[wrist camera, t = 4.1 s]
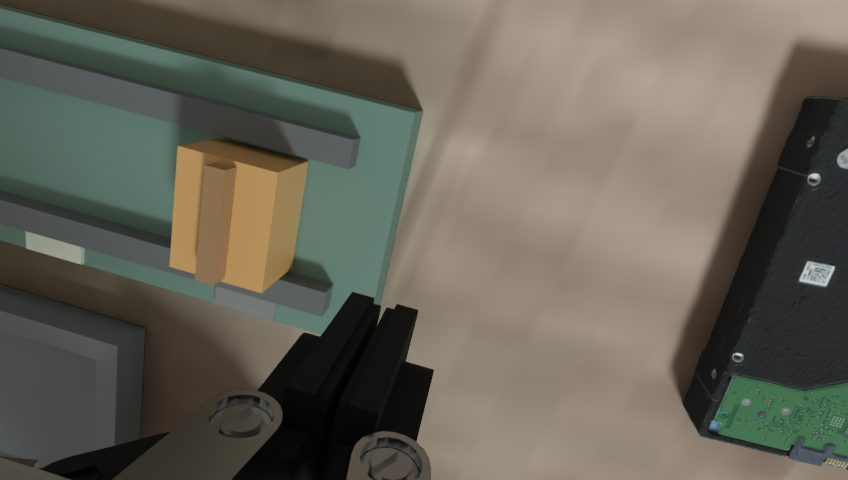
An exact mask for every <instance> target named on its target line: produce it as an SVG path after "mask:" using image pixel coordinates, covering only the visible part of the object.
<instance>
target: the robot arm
mask: <svg viewBox="0 0 848 480" xmlns="http://www.w3.org/2000/svg"><path fill="white" fill-rule="evenodd" d="M380 309H381V306H380V305H377V304H374V298H373V297H370V296H366V295H363V294H359V293H356V292H352V293H351V294H350V296H349V297H348V298H347V300H346V301H345V303H344V304H343V305H342V307H341V308H340V310H339V311H338V313H337V314H336V315H335V317H334V318H333V320H332V321H331V322H330V324H329V325H328V327H327V328H326V329H325V331H324V332H323V334H322V335H321V337H319V336H315V335H312V334H308V333H303V334H302V335H301V336H300V337H299V339H298V340H297V341H296V342H295V344H294V345H293V346H292V347H291V349H290V350H289V351H288V353H287V354H286V355H285V356H284V358H283V359H282V360H281V361H280V363H279V364H278V365H277V367H276V368H275V369H274V370H273V372H272V373H271V374H270V375H269V377H268V378H267V379H266V381H265V382H264V383H263V384H262V386H261V387H260V388H259V389H258V391H256V390H248V389H239V390H231V391H227V392H224V393H221V394H218V395H217V396H215V397H214V398H212V399H210V400H209V401H208V402H206V403H205V404H204V405H203V406H201V407H200V408H199V409H198V410H197V411H195V412H194V413H193V414H192V415H190V416H189V417H188V418H187V419H186V420H184V421H183V422H182V423H181V424H179V425H178V426H177V427H176V428H174V429H173V430H172V431H171V432H167V433H163V434H159V435H155V436H151V437H147V438H143V439H139V440H135V441H131V442H127V443H123V444H119V445H115V446H111V447H107V448H103V449H99V450H95V451H90V452H86V453H82V454H78V455H74V456H70V457H67V458H64V459H61V460H58V461H55V462H52V463H51V464H49V465H47V466H45V467H43V468H39V460H33V459H23V458H13V457H3V456H0V480H431V466H430V461H429V457H428V456H427V454H426V452H425V450H424V449H423V448H422V447H421V446H420V445H419V444H418V443H417V442H416V441H417V436H418V432H419V428H420V424H421V420H422V416H423V412H424V408H425V404H426V400H427V396H428V392H429V388H430V384H431V380H432V376H433V372H434V370H433V369H429V368H426V367H422V366H419V365H415V364H412V363H408V362H406V358H407V354H408V350H409V346H410V342H411V338H412V334H413V330H414V326H415V322H416V318H417V314H418V310H416V309H412V308H409V307H405V306H402V305H398V304H397V305H396V307H395V309H391V308H386V310H385V312H384V314H383V316H382V318H381V320H380V322H379V324H378V325H377V323H378V318H379V314H380Z"/></svg>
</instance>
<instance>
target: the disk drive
mask: <svg viewBox="0 0 848 480" xmlns="http://www.w3.org/2000/svg"><path fill="white" fill-rule="evenodd" d="M683 406H684V408H685V410H686V411H687V414H688V416H689V418H690V420H691V421H692V423H693V425H694V426H695V428H696V430H697V431H698V433H699V435H700V436H702V437H705V438H709V439H713V440H718V441H722V442H725V443H730V444H735V445H738V446H742V447H746V448H751V449H755V450H759V451H763V452H767V453H771V454H776V455H780V456H784V457H785V456H786V455H787V456H788V457H789V458H790V459H792V460H795V461H798V462H804V463H809V464H813V465H817V466H821V465H822V463H823V462H824V463H825V464H827V465H831V466H836V467H840V468H844V469H847V470H848V98H842V97H814V96H812V97H807V98H806V99H805V100H804V101H803V105H802V110H801V112H800V113H799V116H798V119H797V121H796V122H795V126H794V129H793V130H792V131H791V132H790V134H789V137H788V139H787V141H786V144H785V146H784V148H783V151H782V153H781V156H780V159H779V161H778V168H777V171H776V173H775V176H774V178H773V181H772V184H771V186H770V188H769V191H768V194H767V197H766V199H765V202H764V204H763V205H762V208H761V211H760V214H759V216H758V218H757V221H756V224H755V227H754V229H753V231H752V234H751V236H750V238H749V241H748V244H747V246H746V249H745V251H744V254H743V256H742V258H741V260H740V264H739V266H738V269H737V272H736V274H735V276H734V278H733V281H732V283H731V285H730V288H729V292H728V295H727V296H726V299H725V301H724V303H723V306H722V308H721V311H720V314H719V316H718V319H717V321H716V324H715V326H714V329H713V331H712V333H711V336H710V339H709V341H708V343H707V345H706V348H705V350H704V351H703V352H702V354H701V356H700V358H699V362H698V364H697V367H696V369H695V376H694V377H693V380H692V382H691V385H690V387H689V389H688V392H687V394H686V397H685V400H684V402H683Z"/></svg>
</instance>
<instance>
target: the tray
mask: <svg viewBox="0 0 848 480" xmlns="http://www.w3.org/2000/svg"><path fill="white" fill-rule="evenodd" d="M144 347H145V327H141V326H138V325H135V324H131V323H128V322H125V321H121V320H118V319H115V318H111V317H108V316H105V315H101V314H98V313H95V312H91V311H88V310H85V309H81V308H78V307H75V306H71V305H68V304H65V303H61V302H58V301H55V300H51V299H48V298H45V297H41V296H38V295H35V294H31V293H28V292H25V291H21V290H18V289H15V288H12V287H8V286H5V285H2V284H0V456H3V457H13V458H23V459H33V460H39V468H43V467H45V466H47V465H49V464H51V463H52V462H55V461H58V460H61V459H64V458H67V457H70V456H74V455H78V454H82V453H86V452H90V451H95V450H99V449H103V448H107V447H111V446H115V445H119V444H123V443H127V442H131V441H135V440H139V439H140V422H141V403H142V385H143V366H144Z"/></svg>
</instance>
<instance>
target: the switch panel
mask: <svg viewBox="0 0 848 480" xmlns="http://www.w3.org/2000/svg"><path fill="white" fill-rule="evenodd" d="M422 114H423V111H422V110H418V109H414V108H410V107H406V106H402V105H399V104H395V103H391V102H387V101H383V100H379V99H375V98H371V97H367V96H363V95H359V94H355V93H351V92H347V91H343V90H339V89H335V88H331V87H327V86H323V85H319V84H315V83H311V82H307V81H303V80H299V79H295V78H291V77H287V76H283V75H279V74H275V73H271V72H267V71H263V70H259V69H255V68H251V67H247V66H243V65H239V64H235V63H231V62H227V61H223V60H219V59H215V58H211V57H207V56H204V55H200V54H196V53H192V52H188V51H184V50H180V49H176V48H172V47H168V46H164V45H160V44H156V43H152V42H148V41H144V40H140V39H136V38H132V37H128V36H124V35H120V34H116V33H112V32H108V31H104V30H100V29H96V28H92V27H88V26H84V25H80V24H76V23H72V22H68V21H64V20H60V19H56V18H52V17H48V16H44V15H40V14H36V13H32V12H28V11H24V10H20V9H16V8H12V7H9V6H5V5H1V4H0V241H4V242H7V243H11V244H14V245H18V246H21V247H24V248H26V249H30V250H33V251H36V252H40V253H43V254H47V255H50V256H53V257H57V258H60V259H64V260H67V261H70V262H74V263H77V264H82V265H86V266H89V267H93V268H96V269H99V270H103V271H106V272H110V273H113V274H116V275H120V276H123V277H127V278H130V279H134V280H137V281H140V282H144V283H147V284H151V285H154V286H157V287H161V288H164V289H168V290H171V291H174V292H178V293H181V294H185V295H188V296H192V297H195V298H198V299H202V300H205V301H209V302H212V303H214V304H217V305H221V306H224V307H227V308H231V309H234V310H238V311H241V312H244V313H248V314H251V315H255V316H258V317H262V318H265V319H268V320H272V321H277V322H280V323H284V324H287V325H291V326H294V327H297V328H301V329H304V330H308V331H311V332H314V333H318V334H321V335H322V334H323V332H324V331H325V329H326V328H327V327H328V325H329V324H330V322H331V321H332V320H333V318H334V317H335V315H336V314H337V313H338V311H339V310H340V308H341V307H342V305H343V304H344V303H345V301H346V300H347V298H348V297H349V296H350V294H351V293H352V292H356V293H359V294H363V295H366V296H370V297H373V298H374V304H377V305H380V302H381V297H382V293H383V288H384V284H385V279H386V275H387V270H388V266H389V261H390V257H391V252H392V248H393V243H394V239H395V235H396V230H397V226H398V221H399V217H400V212H401V208H402V203H403V199H404V194H405V190H406V185H407V181H408V176H409V172H410V167H411V163H412V158H413V154H414V149H415V145H416V140H417V136H418V131H419V127H420V123H421V118H422ZM218 138H223V139H227V140H231V141H234V142H238V143H242V144H246V145H249V146H253V147H257V148H261V149H265V150H268V151H272V152H276V153H280V154H283V155H287V156H291V157H295V158H299V159H302V160H306V161H309V163H308V169H307V175H306V182H305V188H304V195H303V201H302V208H301V214H300V221H299V227H298V233H297V240H296V246H295V253H294V259H293V266H292V268H291V269H290V270H289V271H288V272H286V273H285V274H284V275H283V276H282V277H281V278H279V279H278V280H277V281H276V282H275V283H273V284H272V285H271V286H270V287H269V288H268V289H266V290H265V291H264V292H263V293H259V292H255V291H252V290H248V289H245V288H241V287H238V286H234V285H231V284H228V283H224V282H221V281H220V282H219V283H217V284H216V285H214V286H213V285H210V284H206V283H203V282H200V281H196V280H195V274H193V273H189V272H186V271H183V270H179V269H176V268H172V267H169V266H170V251H171V236H172V221H173V207H174V192H175V177H176V162H177V148H178V146H179V145H185V144H191V143H196V142H202V141H207V140H213V139H218Z"/></svg>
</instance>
